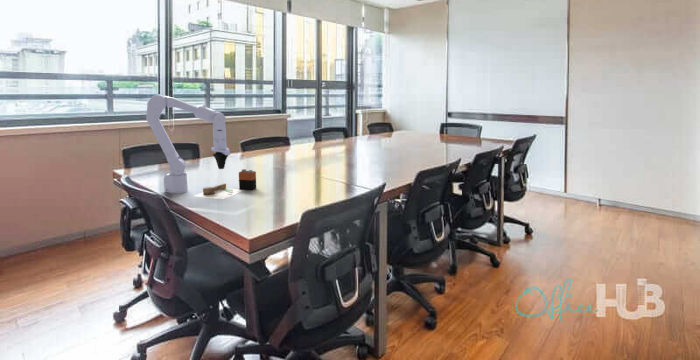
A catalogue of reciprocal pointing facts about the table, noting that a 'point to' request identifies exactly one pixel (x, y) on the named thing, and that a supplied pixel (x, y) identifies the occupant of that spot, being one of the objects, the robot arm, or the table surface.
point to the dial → (213, 189)
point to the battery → (247, 180)
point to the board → (221, 193)
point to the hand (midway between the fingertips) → (221, 168)
